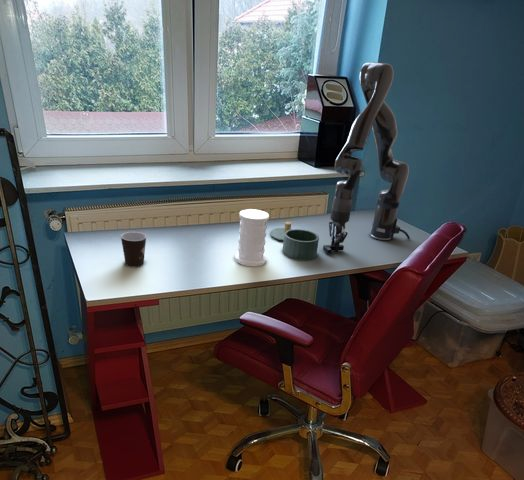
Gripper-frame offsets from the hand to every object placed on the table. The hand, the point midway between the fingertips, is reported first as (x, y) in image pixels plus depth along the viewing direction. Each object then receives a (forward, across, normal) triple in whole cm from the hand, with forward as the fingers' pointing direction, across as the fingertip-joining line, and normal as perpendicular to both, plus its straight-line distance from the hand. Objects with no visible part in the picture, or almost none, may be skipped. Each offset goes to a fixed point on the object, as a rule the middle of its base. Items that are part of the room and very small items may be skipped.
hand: (334, 249), depth 218 cm
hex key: (0, -1, +1) cm, 2 cm away
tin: (+1, -1, +16) cm, 16 cm away
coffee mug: (0, -4, +80) cm, 80 cm away
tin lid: (0, +17, +15) cm, 23 cm away
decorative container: (+1, -6, +38) cm, 38 cm away
